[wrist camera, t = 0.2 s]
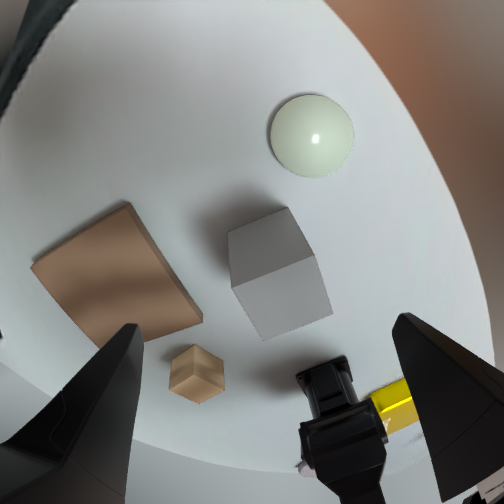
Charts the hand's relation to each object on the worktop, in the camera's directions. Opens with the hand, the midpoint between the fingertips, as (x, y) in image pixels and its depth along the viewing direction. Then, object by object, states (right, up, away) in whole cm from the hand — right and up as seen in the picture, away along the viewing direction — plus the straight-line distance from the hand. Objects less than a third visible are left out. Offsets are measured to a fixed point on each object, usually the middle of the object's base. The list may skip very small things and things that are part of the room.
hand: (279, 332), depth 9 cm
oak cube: (-7, -9, +21) cm, 24 cm away
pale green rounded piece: (+3, +11, +10) cm, 15 cm away
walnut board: (-13, -1, +15) cm, 20 cm away
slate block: (0, +3, +14) cm, 15 cm away
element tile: (+26, -22, +33) cm, 48 cm away
